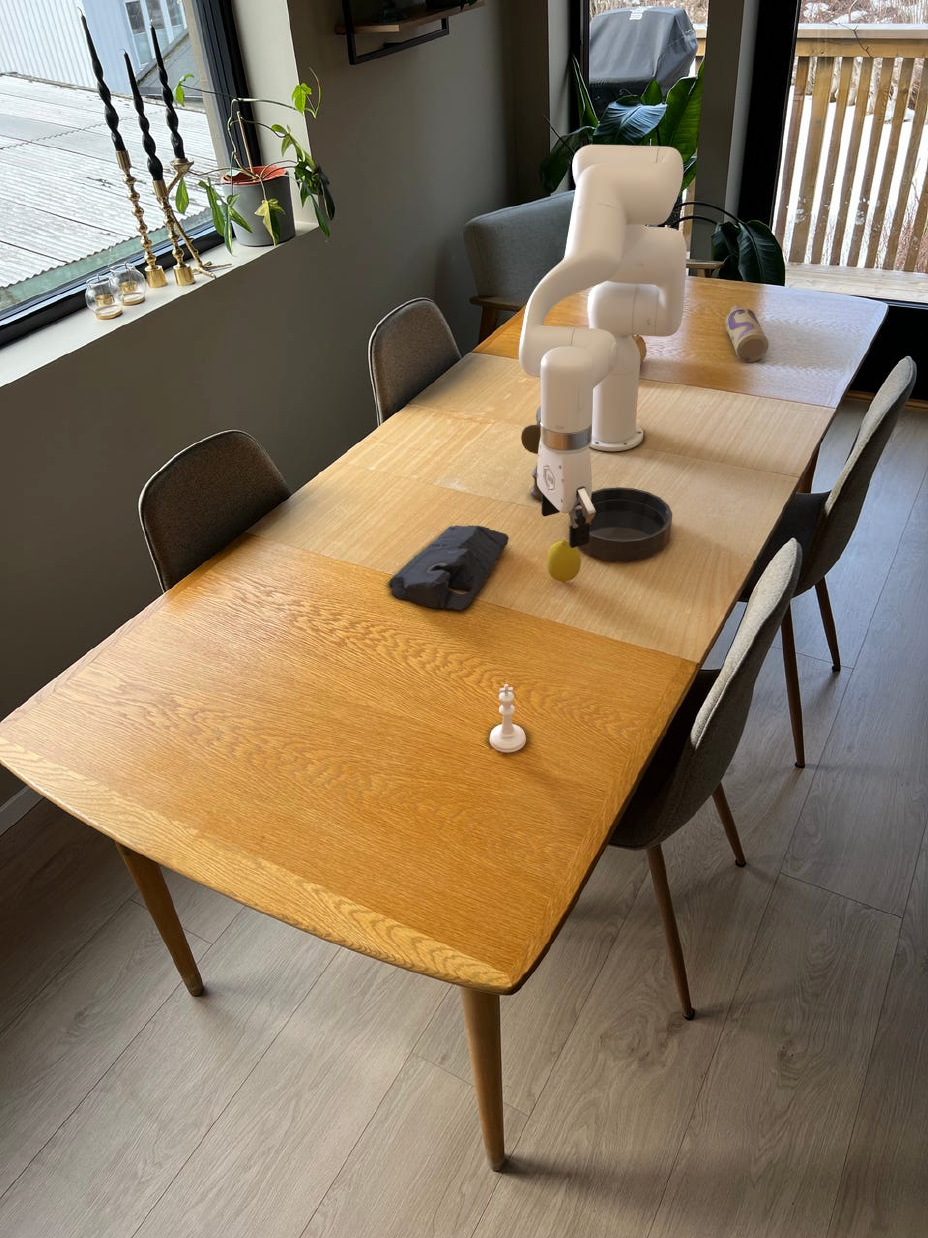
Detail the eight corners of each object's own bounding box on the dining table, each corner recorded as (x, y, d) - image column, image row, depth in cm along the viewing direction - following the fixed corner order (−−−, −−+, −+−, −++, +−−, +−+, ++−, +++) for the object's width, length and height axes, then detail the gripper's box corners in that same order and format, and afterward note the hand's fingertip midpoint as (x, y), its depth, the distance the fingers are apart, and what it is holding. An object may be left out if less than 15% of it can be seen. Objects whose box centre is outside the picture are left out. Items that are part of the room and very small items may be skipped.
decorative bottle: (768, 362, 221) (772, 334, 217) (734, 363, 222) (737, 335, 218) (749, 319, 241) (753, 292, 237) (718, 319, 242) (721, 293, 238)
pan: (553, 522, 174) (553, 501, 171) (637, 500, 178) (639, 478, 175) (599, 573, 161) (600, 551, 158) (689, 547, 165) (691, 525, 163)
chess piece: (487, 728, 134) (485, 674, 128) (523, 725, 134) (522, 670, 128) (491, 754, 130) (489, 699, 124) (528, 750, 130) (527, 696, 124)
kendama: (567, 484, 184) (569, 386, 171) (550, 510, 177) (551, 410, 164) (537, 479, 186) (537, 382, 173) (519, 505, 179) (518, 405, 166)
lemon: (578, 592, 157) (579, 552, 152) (544, 590, 158) (544, 549, 153) (581, 573, 161) (583, 532, 156) (548, 570, 162) (549, 530, 157)
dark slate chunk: (524, 548, 168) (524, 524, 165) (460, 619, 153) (459, 595, 150) (448, 526, 174) (446, 504, 171) (380, 593, 160) (377, 569, 157)
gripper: (518, 413, 148) (520, 508, 159) (570, 465, 135) (568, 564, 146) (562, 402, 150) (561, 496, 161) (617, 452, 137) (612, 551, 148)
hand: (564, 528), depth 154 cm, fingers open, 9 cm apart
